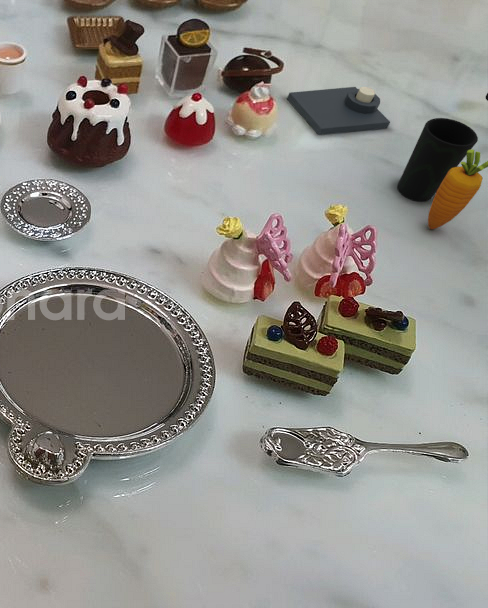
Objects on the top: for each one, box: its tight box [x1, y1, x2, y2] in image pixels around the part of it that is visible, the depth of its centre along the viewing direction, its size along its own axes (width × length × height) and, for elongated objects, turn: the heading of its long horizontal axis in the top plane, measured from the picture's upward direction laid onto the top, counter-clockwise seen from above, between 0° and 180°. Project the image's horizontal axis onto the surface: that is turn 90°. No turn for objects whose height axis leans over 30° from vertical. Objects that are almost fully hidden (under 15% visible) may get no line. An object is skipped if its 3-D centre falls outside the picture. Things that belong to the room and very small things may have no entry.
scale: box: [286, 86, 391, 136], centre depth 141 cm, size 14×12×3 cm
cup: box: [396, 117, 479, 203], centre depth 123 cm, size 8×8×12 cm
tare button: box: [356, 86, 376, 103], centre depth 140 cm, size 3×3×2 cm
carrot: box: [427, 148, 488, 230], centre depth 115 cm, size 5×5×15 cm
